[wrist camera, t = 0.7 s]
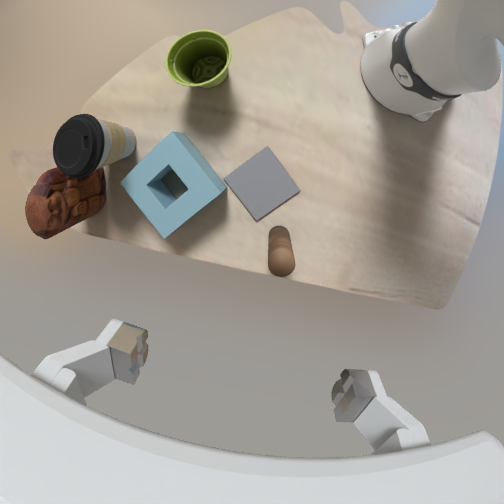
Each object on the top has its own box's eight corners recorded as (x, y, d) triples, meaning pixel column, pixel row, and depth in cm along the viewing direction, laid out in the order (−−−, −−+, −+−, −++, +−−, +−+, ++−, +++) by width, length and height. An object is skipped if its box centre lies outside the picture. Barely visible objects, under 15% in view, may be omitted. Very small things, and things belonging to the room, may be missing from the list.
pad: (267, 146, 42) (267, 146, 41) (300, 190, 44) (300, 190, 44) (224, 178, 44) (223, 178, 44) (256, 220, 46) (256, 220, 46)
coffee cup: (153, 148, 42) (107, 151, 29) (116, 177, 45) (66, 193, 31) (129, 107, 40) (79, 99, 26) (95, 139, 42) (42, 143, 28)
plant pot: (186, 49, 35) (169, 32, 27) (240, 48, 35) (234, 28, 27) (180, 97, 39) (161, 88, 31) (235, 97, 39) (227, 86, 31)
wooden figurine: (107, 219, 48) (48, 253, 31) (83, 216, 48) (24, 248, 31) (106, 159, 43) (41, 172, 27) (82, 160, 44) (17, 174, 27)
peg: (281, 221, 46) (285, 246, 35) (293, 238, 47) (300, 267, 36) (264, 233, 47) (262, 261, 36) (276, 249, 48) (278, 281, 37)
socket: (184, 133, 41) (172, 131, 36) (227, 187, 44) (221, 193, 39) (136, 177, 45) (119, 182, 39) (175, 228, 48) (164, 239, 42)
